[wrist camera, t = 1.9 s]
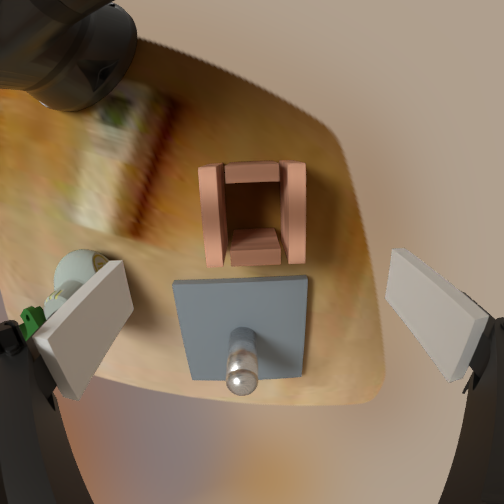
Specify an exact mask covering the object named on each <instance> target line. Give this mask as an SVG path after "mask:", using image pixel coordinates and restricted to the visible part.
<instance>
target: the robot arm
mask: <svg viewBox="0 0 504 504" xmlns="http://www.w3.org/2000/svg"><path fill="white" fill-rule="evenodd" d="M112 1H114V0H0V88H2V89H13V90H23V91H26V92H28V93H29V94H30V95H31V96H33V97H34V98H36V99H37V100H38V101H39V102H40V103H42V104H43V105H44V106H46V107H48V108H50V109H53V110H60V111H77V110H81V109H84V108H87V107H89V106H91V105H93V104H95V103H96V102H98V101H99V100H101V99H102V98H103V97H105V96H106V95H107V94H108V93H109V92H110V91H111V90H112V89H113V88H114V87H115V86H116V85H117V84H118V82H119V81H120V80H121V78H122V77H123V76H124V74H125V73H126V71H127V69H128V67H129V65H130V63H131V61H132V59H133V56H134V53H135V49H136V44H137V30H136V26H135V23H134V21H133V19H132V18H131V16H130V15H129V14H128V13H127V12H126V11H125V10H124V9H123V8H122V7H120V6H119V5H117V4H115V3H112ZM385 299H386V300H387V301H388V303H389V304H390V305H391V307H392V308H393V309H394V310H395V312H396V313H397V314H398V315H399V316H400V318H401V319H402V320H403V322H404V323H405V324H406V326H407V327H408V328H409V330H410V331H411V332H412V333H413V334H414V336H415V337H416V339H417V340H418V341H419V343H420V344H421V345H422V347H423V348H424V349H425V351H426V352H427V354H428V355H429V356H430V358H431V359H432V360H433V362H434V363H435V365H436V366H437V367H438V369H439V370H440V371H441V373H442V375H443V376H444V377H445V379H446V380H447V382H448V383H450V382H453V381H456V380H459V379H461V378H463V376H464V375H465V373H466V371H467V368H468V366H470V367H471V368H472V370H473V373H472V375H471V377H470V379H469V381H468V382H467V384H466V386H465V388H464V390H463V392H462V393H463V394H465V392H466V390H467V389H468V396H467V402H466V408H465V413H464V419H463V424H462V428H461V433H460V437H459V441H458V445H457V449H456V453H455V456H454V460H453V463H452V466H451V470H450V473H449V475H448V478H447V481H446V484H445V487H444V490H443V492H442V495H441V498H440V500H439V503H438V504H504V318H503V317H502V318H497V319H496V320H495V319H494V318H493V317H492V316H491V315H490V314H489V313H488V312H486V311H485V310H484V309H483V308H482V307H481V306H479V305H477V303H476V302H475V301H474V300H472V299H471V298H470V297H469V296H468V295H466V294H465V293H464V292H462V291H460V290H459V289H457V288H456V287H455V286H454V285H452V284H451V283H450V282H449V281H447V280H446V279H445V278H444V277H442V276H441V275H440V274H439V273H437V272H436V271H435V270H434V269H432V268H431V267H429V266H428V265H427V264H426V263H424V262H423V261H422V260H420V259H419V258H417V257H416V256H415V255H414V254H412V253H411V252H409V251H408V250H407V249H405V248H397V249H396V248H395V249H392V255H391V262H390V269H389V276H388V282H387V288H386V294H385ZM133 310H134V307H133V303H132V299H131V295H130V291H129V287H128V282H127V278H126V273H125V269H124V264H123V260H115V261H109V262H108V263H107V264H105V265H104V266H103V267H102V268H101V269H100V270H99V271H98V272H97V273H96V274H94V275H93V276H92V277H91V278H90V279H89V280H88V281H87V282H86V283H85V284H84V285H83V286H82V287H81V288H79V289H78V290H77V291H76V292H75V293H74V294H73V295H72V296H71V297H70V298H69V299H68V300H67V301H66V302H65V303H64V304H63V305H62V306H61V307H60V308H59V309H58V310H56V311H55V312H53V313H52V314H51V315H50V316H49V317H48V318H47V320H45V322H44V323H43V324H42V326H40V327H39V328H38V329H37V330H36V331H35V332H34V333H33V334H32V335H31V336H30V337H29V338H28V340H27V341H25V339H24V336H23V334H22V332H21V330H20V327H19V325H18V322H16V321H15V320H9V321H4V322H2V323H0V504H94V503H93V501H92V499H91V497H90V494H89V492H88V490H87V488H86V486H85V483H84V481H83V479H82V476H81V474H80V471H79V469H78V466H77V464H76V461H75V459H74V456H73V453H72V450H71V447H70V444H69V441H68V439H67V435H66V431H65V428H64V425H63V421H62V418H61V414H60V411H59V406H58V402H57V399H56V397H55V395H54V393H53V391H54V389H55V387H56V386H57V387H58V389H59V390H60V392H61V394H62V395H63V397H65V398H69V399H73V400H77V401H79V400H80V398H81V396H82V395H83V393H84V390H85V389H86V387H87V386H88V384H89V382H90V380H91V379H92V377H93V375H94V373H95V372H96V370H97V368H98V367H99V365H100V363H101V362H102V360H103V358H104V356H105V355H106V353H107V352H108V350H109V348H110V347H111V345H112V343H113V342H114V340H115V338H116V337H117V335H118V334H119V332H120V330H121V329H122V327H123V326H124V324H125V323H126V321H127V319H128V318H129V316H130V315H131V313H132V312H133Z"/></svg>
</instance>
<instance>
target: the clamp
mask: <svg viewBox="0 0 504 504" xmlns="http://www.w3.org/2000/svg"><path fill="white" fill-rule="evenodd" d="M20 316H21V318H22V319H23V321H24V323H23V324H21V325H19V327H20V330H21V332H22V334H23V336H24V339H25V341H27V340H28V338H29V337H30V336H31V335H32V334H33V333H34V332H35V331H36V330H37V329H38V328H39V327H40V326H42V324H43V323H44V322H45V320H46V317H45V314H44V312H43V310H42V308H41V307H40V306H39V307H36V308H34V307H32V306H31V307H28V308H26V309H24V310H23V312H22V314H21V315H20Z"/></svg>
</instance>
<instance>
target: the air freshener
mask: <svg viewBox="0 0 504 504" xmlns="http://www.w3.org/2000/svg"><path fill="white" fill-rule="evenodd" d="M108 262H109V260H108V259H107V258H106V257H105V256H103V255H102V254H100V253H98V252H95V251H92V250H85V249H81V250H76V251H73V252H71V253H68V254H67V255H66V256H65V257H63V258H62V260H61V261H60V262H59V264H58V266H57V268H56V271H55V275H54V290H55V291H54V292H53V293H52V294H51V295H50V296H49V297H48V298H47V299H46V300H45V305H44V314H45V317H46V320H47V318H48V317H49V316H50V315H51V314H52V313H53V312H55V311H56V310H58V309H59V308H60V307H61V306H62V305H63V304H64V303H65V302H66V301H67V300H68V299H69V298H70V297H71V296H72V295H73V294H74V293H75V292H76V291H77V290H78V289H79V288H81V287H82V286H83V285H84V284H85V283H86V282H87V281H88V280H89V279H90V278H91V277H92V276H93V275H94V274H96V273H97V272H98V271H99V270H100V269H101V268H102V267H103V266H104V265H105V264H107V263H108Z"/></svg>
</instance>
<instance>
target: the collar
mask: <svg viewBox="0 0 504 504" xmlns="http://www.w3.org/2000/svg"><path fill="white" fill-rule="evenodd" d="M279 166H280V205H281V242H282V244H283V247H284V250H285V253H286V256H287V259H288V262H289V264H298V263H305V251H306V163H302V162H298V161H294V160H279V163H277V162H274V161H249V162H230V163H228V164H227V165H225V181H226V183H245V182H270V181H279ZM198 175H199V189H200V201H201V213H202V224H203V235H204V245H205V255H206V264H207V267H223V265H224V260H225V256H226V251H227V246H228V232H227V217H226V202H225V186H224V169H223V163H214V164H208V165H205V166H202V167H199V168H198ZM230 256H231V266H255V265H277V264H281V248H280V245H279V241H278V238H277V235H276V232H275V229H274V228H258V229H236V230H234V233H233V238H232V244H231V249H230Z"/></svg>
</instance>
